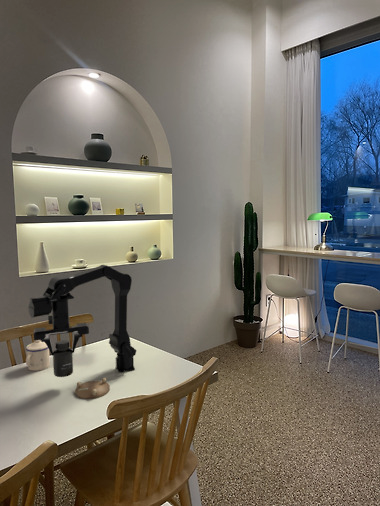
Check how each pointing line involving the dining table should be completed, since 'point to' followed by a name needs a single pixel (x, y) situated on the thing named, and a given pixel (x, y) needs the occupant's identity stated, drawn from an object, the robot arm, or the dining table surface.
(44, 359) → the teacup with lid
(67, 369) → the supplement bottle
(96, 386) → the dowel base
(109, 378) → the dining table surface
